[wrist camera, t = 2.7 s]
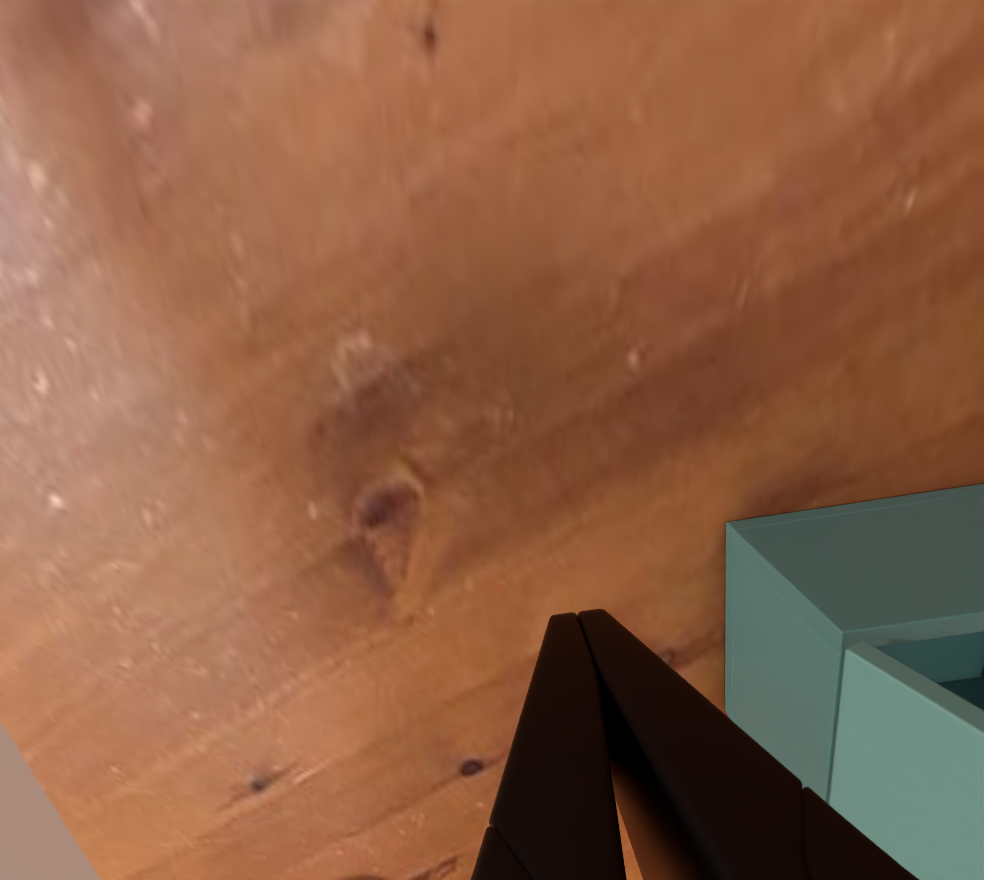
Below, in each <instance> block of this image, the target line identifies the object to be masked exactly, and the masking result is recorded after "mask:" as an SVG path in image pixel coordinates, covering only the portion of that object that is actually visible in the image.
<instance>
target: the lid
mask: <svg viewBox="0 0 984 880" xmlns="http://www.w3.org/2000/svg"><path fill="white" fill-rule="evenodd" d="M829 805H830V806H831V807H832V808H834V809H835V810H836V811H837V812H838V813H839V814H840V815H842V816H843V817H844V818H845V819H846V820H848V821H849V822H850V823H851V824H852V825H854V826H855V827H856V828H857V829H858V830H860V831H861V832H862V833H863V834H864V835H865V836H867V837H868V838H869V839H870V840H871V841H873V842H874V843H875V844H876V845H877V846H879V847H880V848H881V849H882V850H883V851H885V852H886V853H887V854H888V855H889V856H891V857H892V858H893V859H894V860H895V861H897V862H898V863H899V864H900V865H901V866H903V867H904V868H905V869H906V870H908V871H909V872H910V873H912V874H913V875H914V876H915V877H917V878H918V879H919V880H984V710H982V709H980V708H979V707H977V706H975V705H974V704H972V703H970V702H968V701H967V700H965V699H963V698H962V697H960V696H958V695H956V694H955V693H953V692H951V691H949V690H948V689H946V688H944V687H943V686H941V685H939V684H937V683H936V682H934V681H932V680H931V679H929V678H927V677H925V676H924V675H922V674H920V673H918V672H917V671H915V670H913V669H912V668H910V667H908V666H906V665H905V664H903V663H901V662H900V661H898V660H896V659H894V658H893V657H891V656H889V655H888V654H886V653H884V652H882V651H881V650H879V649H877V648H875V647H874V646H872V645H870V644H869V643H867V642H865V641H859V642H857V643H856V644H854V645H852V646H850V647H848V648H847V649H846V650H845V659H844V668H843V677H842V687H841V696H840V706H839V715H838V724H837V734H836V743H835V753H834V762H833V772H832V781H831V790H830V800H829Z"/></svg>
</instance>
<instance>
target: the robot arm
mask: <svg viewBox="0 0 984 880" xmlns="http://www.w3.org/2000/svg"><path fill="white" fill-rule="evenodd" d="M615 798H616V801H617V804H618V807H619V809H620V812H621V815H622V818H623V821H624V824H625V827H626V830H627V833H628V836H629V839H630V842H631V845H632V848H633V851H634V854H635V857H636V860H637V863H638V865H639V868H640V871H641V874H642V877H643V880H919V879H918V878H917V877H915V876H914V875H913V874H912V873H910V872H909V871H908V870H906V869H905V868H904V867H903V866H901V865H900V864H899V863H898V862H897V861H895V860H894V859H893V858H892V857H891V856H889V855H888V854H887V853H886V852H885V851H883V850H882V849H881V848H880V847H879V846H877V845H876V844H875V843H874V842H873V841H871V840H870V839H869V838H868V837H867V836H865V835H864V834H863V833H862V832H861V831H860V830H858V829H857V828H856V827H855V826H854V825H852V824H851V823H850V822H849V821H848V820H846V819H845V818H844V817H843V816H842V815H840V814H839V813H838V812H837V811H836V810H835V809H834V808H832V807H831V806H830V805H829V804H828V803H827V802H826V801H824V800H823V799H822V798H821V797H820V796H819V795H817V794H816V793H815V792H814V791H813V790H812V789H811V788H809V787H804V788H803V790H802V782H801V780H800V779H799V778H798V777H796V776H795V775H794V774H793V773H792V772H791V771H789V770H788V769H787V768H786V767H785V766H784V765H783V764H781V763H780V762H779V761H778V760H777V759H776V758H775V757H773V756H772V755H771V754H770V753H769V752H768V751H766V750H765V749H764V748H763V747H762V746H761V745H760V744H758V743H757V742H756V741H755V740H754V739H753V738H752V737H750V736H749V735H748V734H747V733H746V732H745V731H743V730H742V729H741V728H740V727H739V726H738V725H737V724H735V723H734V722H733V721H732V720H731V719H730V718H729V717H727V716H726V715H725V714H724V713H723V712H722V711H720V710H719V709H718V708H717V707H716V706H715V705H714V704H712V703H711V702H710V701H709V700H708V699H707V698H706V697H704V696H703V695H702V694H701V693H700V692H699V691H697V690H696V689H695V688H694V687H693V686H692V685H691V684H689V683H688V682H687V681H686V680H685V679H684V678H682V677H681V676H680V675H679V674H678V673H677V672H676V671H674V670H673V669H672V668H671V667H670V666H669V665H668V664H666V663H665V662H664V661H663V660H662V659H661V658H659V657H658V656H657V655H656V654H655V653H654V652H653V651H651V650H650V649H649V648H648V647H647V646H646V645H645V644H643V643H642V642H641V641H640V640H639V639H638V638H636V637H635V636H634V635H633V634H632V633H631V632H630V631H628V630H627V629H626V628H625V627H624V626H623V625H622V624H620V623H619V622H618V621H617V620H616V619H615V618H613V617H612V616H611V615H610V614H609V613H608V612H607V611H605V610H603V609H594V610H586V611H581V612H579V613H578V616H577V615H576V614H575V613H572V612H571V613H564V614H557V615H552V616H551V617H550V619H549V622H548V626H547V629H546V632H545V636H544V639H543V642H542V646H541V649H540V652H539V656H538V659H537V662H536V666H535V669H534V672H533V676H532V679H531V682H530V686H529V689H528V692H527V696H526V699H525V702H524V706H523V709H522V712H521V716H520V719H519V723H518V726H517V729H516V733H515V736H514V739H513V743H512V746H511V749H510V753H509V756H508V759H507V763H506V766H505V769H504V773H503V776H502V779H501V783H500V786H499V789H498V793H497V796H496V799H495V803H494V806H493V809H492V813H491V816H490V820H489V824H490V826H489V827H487V829H486V832H485V835H484V838H483V842H482V845H481V848H480V852H479V855H478V858H477V862H476V865H475V868H474V871H473V874H472V877H471V880H626V873H625V866H624V859H623V852H622V844H621V837H620V830H619V823H618V816H617V809H616V801H615Z"/></svg>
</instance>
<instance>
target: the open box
mask: <svg viewBox="0 0 984 880" xmlns="http://www.w3.org/2000/svg"><path fill="white" fill-rule="evenodd" d="M859 641H865V642H867V643H869V644H870V645H872V646H874V647H875V648H877V649H879V650H881V651H882V652H884V653H886V654H888V655H889V656H891V657H893V658H894V659H896V660H898V661H900V662H901V663H903V664H905V665H906V666H908V667H910V668H912V669H913V670H915V671H917V672H918V673H920V674H922V675H924V676H925V677H927V678H929V679H931V680H932V681H934V682H936V683H937V684H939V685H941V686H943V687H944V688H946V689H948V690H949V691H951V692H953V693H955V694H956V695H958V696H960V697H962V698H963V699H965V700H967V701H968V702H970V703H972V704H974V705H975V706H977V707H979V708H980V709H982V710H984V484H978V485H972V486H965V487H958V488H952V489H945V490H938V491H932V492H925V493H918V494H912V495H905V496H898V497H892V498H885V499H878V500H871V501H865V502H858V503H851V504H845V505H838V506H831V507H825V508H818V509H811V510H805V511H798V512H791V513H785V514H778V515H771V516H765V517H758V518H751V519H745V520H738V521H731V522H727V523H726V612H725V711H726V712H727V714H728V716H729V718H730V719H731V720H732V721H733V722H734V723H735V724H737V725H738V726H739V727H740V728H741V729H742V730H743V731H745V732H746V733H747V734H748V735H749V736H750V737H752V738H753V739H754V740H755V741H756V742H757V743H758V744H760V745H761V746H762V747H763V748H764V749H765V750H766V751H768V752H769V753H770V754H771V755H772V756H773V757H775V758H776V759H777V760H778V761H779V762H780V763H781V764H783V765H784V766H785V767H786V768H787V769H788V770H789V771H791V772H792V773H793V774H794V775H795V776H796V777H798V778H799V779H800V780H801V782H802V790H803V788H804V787H809V788H811V789H812V790H813V791H814V792H815V793H816V794H817V795H819V796H820V797H821V798H822V799H823V800H824V801H826V802H827V803H828V804H829V800H830V790H831V781H832V772H833V762H834V753H835V743H836V734H837V724H838V715H839V706H840V696H841V687H842V677H843V668H844V659H845V650H846V649H847V648H848V647H850V646H852V645H854V644H856V643H857V642H859Z"/></svg>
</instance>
